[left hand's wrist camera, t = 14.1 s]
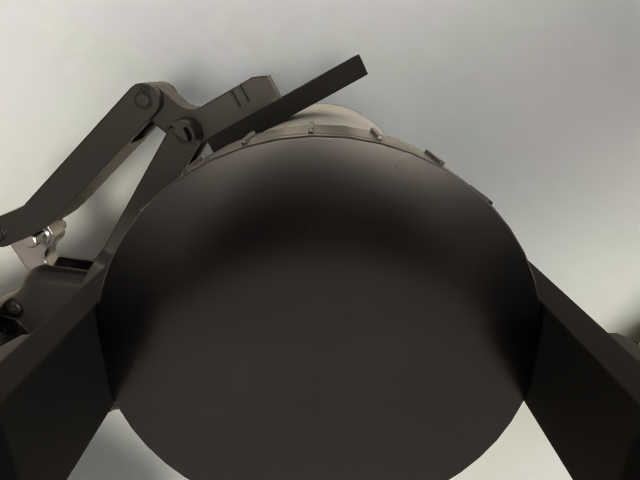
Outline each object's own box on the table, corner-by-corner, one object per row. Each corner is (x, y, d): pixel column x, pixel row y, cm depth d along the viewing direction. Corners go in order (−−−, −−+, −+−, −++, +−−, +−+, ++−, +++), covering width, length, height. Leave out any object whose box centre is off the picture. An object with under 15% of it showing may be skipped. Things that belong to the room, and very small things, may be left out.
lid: (464, 472, 14) (485, 531, 13) (135, 446, 14) (107, 503, 12) (559, 147, 11) (609, 163, 9) (117, 98, 10) (73, 105, 8)
